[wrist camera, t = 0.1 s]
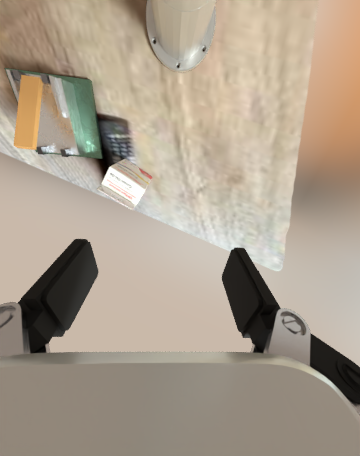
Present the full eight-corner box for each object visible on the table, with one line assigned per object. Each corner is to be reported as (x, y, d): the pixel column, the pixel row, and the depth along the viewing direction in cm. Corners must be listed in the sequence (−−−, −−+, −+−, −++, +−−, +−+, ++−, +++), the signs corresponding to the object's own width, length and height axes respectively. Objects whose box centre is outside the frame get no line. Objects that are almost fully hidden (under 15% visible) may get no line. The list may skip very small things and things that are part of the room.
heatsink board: (9, 69, 31) (-31, 55, 25) (91, 81, 32) (72, 70, 26) (39, 151, 39) (15, 155, 33) (103, 158, 40) (91, 163, 34)
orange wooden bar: (25, 79, 27) (21, 74, 27) (43, 81, 28) (39, 77, 27) (18, 147, 27) (13, 145, 26) (36, 149, 27) (32, 147, 26)
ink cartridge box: (153, 176, 43) (144, 194, 31) (144, 190, 45) (133, 212, 33) (125, 156, 40) (103, 169, 28) (117, 172, 42) (93, 190, 30)
